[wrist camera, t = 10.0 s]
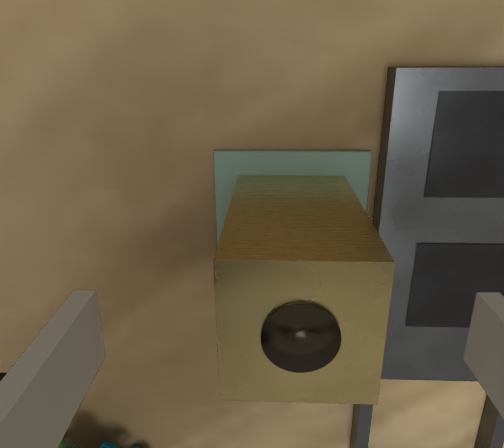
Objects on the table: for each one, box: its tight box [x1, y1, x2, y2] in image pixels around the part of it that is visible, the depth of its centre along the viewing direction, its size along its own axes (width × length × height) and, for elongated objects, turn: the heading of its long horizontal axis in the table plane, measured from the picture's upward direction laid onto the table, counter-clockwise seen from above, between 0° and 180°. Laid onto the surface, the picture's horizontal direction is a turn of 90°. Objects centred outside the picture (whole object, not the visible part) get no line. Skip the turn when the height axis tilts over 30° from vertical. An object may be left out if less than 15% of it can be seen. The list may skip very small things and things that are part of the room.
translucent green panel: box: [214, 150, 372, 246], centre depth 24 cm, size 8×8×1 cm
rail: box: [350, 66, 504, 448], centre depth 25 cm, size 9×26×2 cm, turn 0°
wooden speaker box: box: [214, 175, 395, 405], centre depth 19 cm, size 6×6×10 cm
